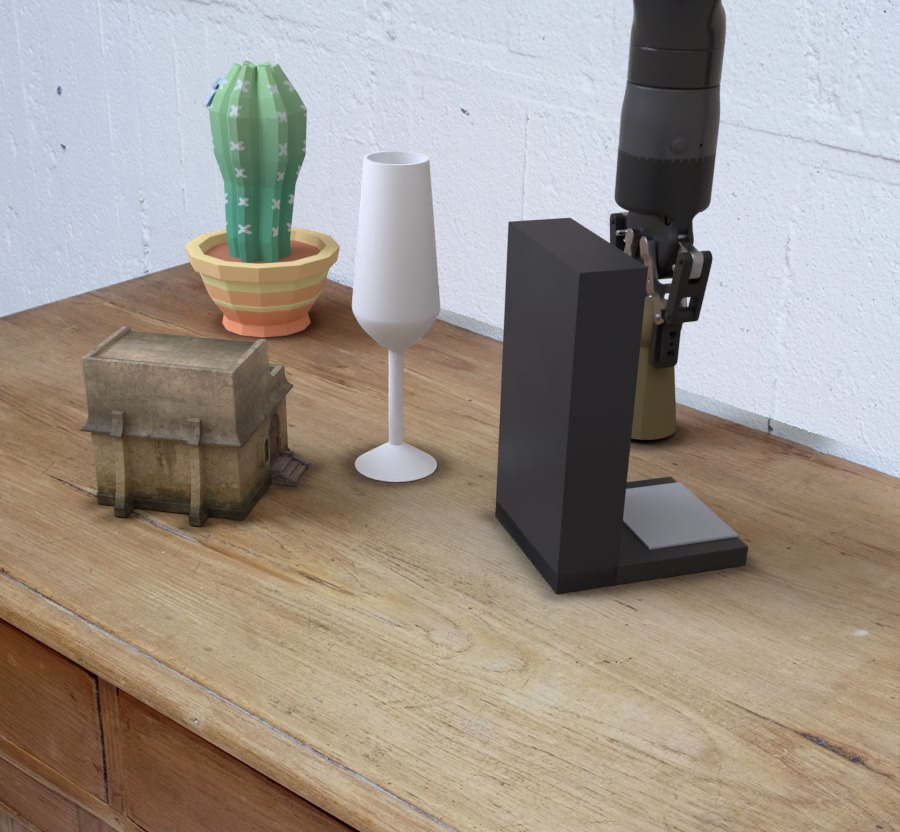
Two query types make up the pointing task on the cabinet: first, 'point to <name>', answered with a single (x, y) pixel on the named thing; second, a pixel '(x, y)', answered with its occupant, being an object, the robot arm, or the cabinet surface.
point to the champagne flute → (396, 288)
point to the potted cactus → (260, 207)
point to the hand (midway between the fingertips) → (647, 353)
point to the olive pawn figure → (653, 389)
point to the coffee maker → (586, 422)
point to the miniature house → (187, 424)
